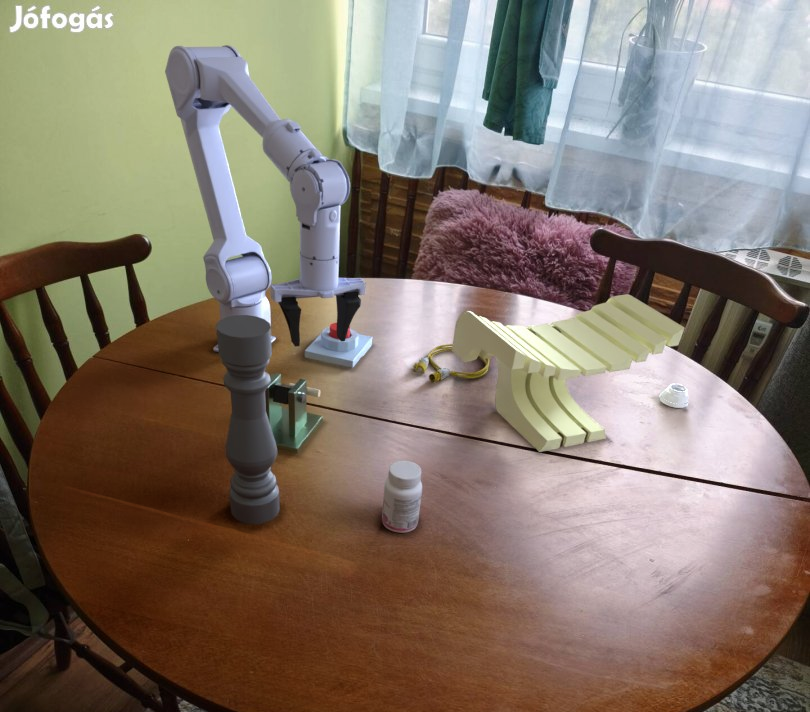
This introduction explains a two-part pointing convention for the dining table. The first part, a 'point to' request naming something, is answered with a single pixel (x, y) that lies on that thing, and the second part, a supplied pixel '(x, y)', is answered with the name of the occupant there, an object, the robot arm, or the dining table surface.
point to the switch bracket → (290, 416)
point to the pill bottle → (402, 497)
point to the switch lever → (283, 390)
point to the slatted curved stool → (562, 363)
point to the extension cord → (445, 372)
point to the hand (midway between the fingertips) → (318, 341)
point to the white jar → (675, 396)
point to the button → (334, 332)
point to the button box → (339, 348)
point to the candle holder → (249, 417)
